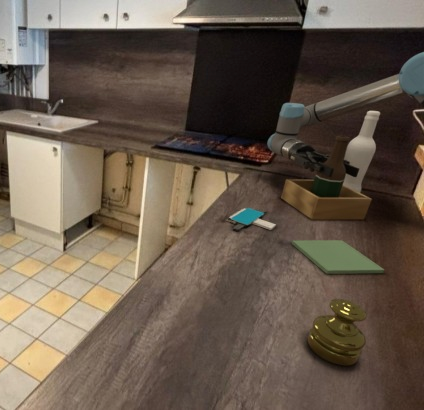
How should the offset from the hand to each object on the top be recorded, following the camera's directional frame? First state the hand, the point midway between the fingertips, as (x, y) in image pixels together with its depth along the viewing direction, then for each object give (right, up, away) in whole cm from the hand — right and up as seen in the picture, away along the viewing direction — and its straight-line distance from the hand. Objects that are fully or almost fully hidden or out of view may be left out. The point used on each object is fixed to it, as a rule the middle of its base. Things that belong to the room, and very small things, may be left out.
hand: (344, 172), depth 108 cm
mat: (-16, -23, -18) cm, 33 cm away
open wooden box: (-1, -11, +10) cm, 15 cm away
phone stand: (-28, -15, -1) cm, 32 cm away
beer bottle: (-1, -11, +10) cm, 15 cm away
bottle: (+16, -7, +21) cm, 27 cm away
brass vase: (-36, -35, -46) cm, 68 cm away
